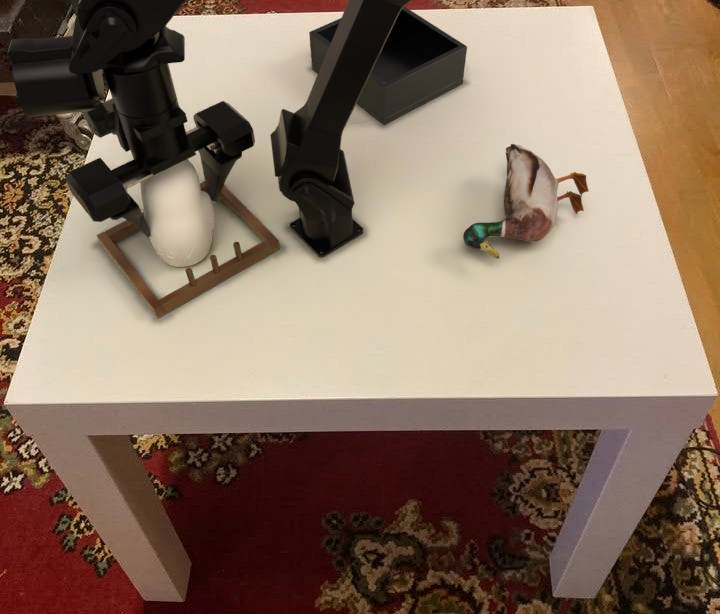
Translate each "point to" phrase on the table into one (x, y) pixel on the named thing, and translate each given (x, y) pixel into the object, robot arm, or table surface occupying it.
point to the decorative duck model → (526, 201)
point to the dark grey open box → (403, 66)
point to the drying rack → (194, 285)
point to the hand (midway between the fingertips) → (181, 216)
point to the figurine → (178, 215)
